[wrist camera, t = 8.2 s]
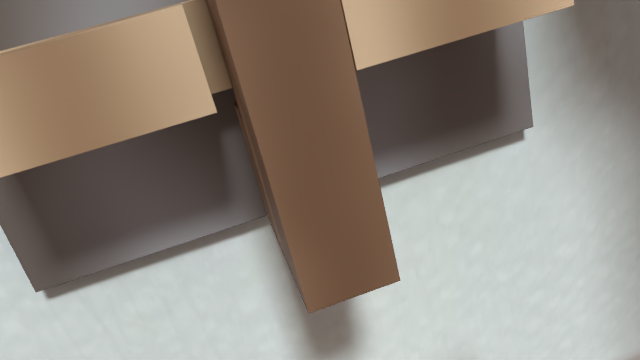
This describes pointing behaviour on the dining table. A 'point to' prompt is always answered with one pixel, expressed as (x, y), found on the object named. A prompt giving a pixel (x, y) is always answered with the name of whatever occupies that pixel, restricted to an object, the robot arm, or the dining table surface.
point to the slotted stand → (214, 115)
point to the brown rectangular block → (308, 143)
